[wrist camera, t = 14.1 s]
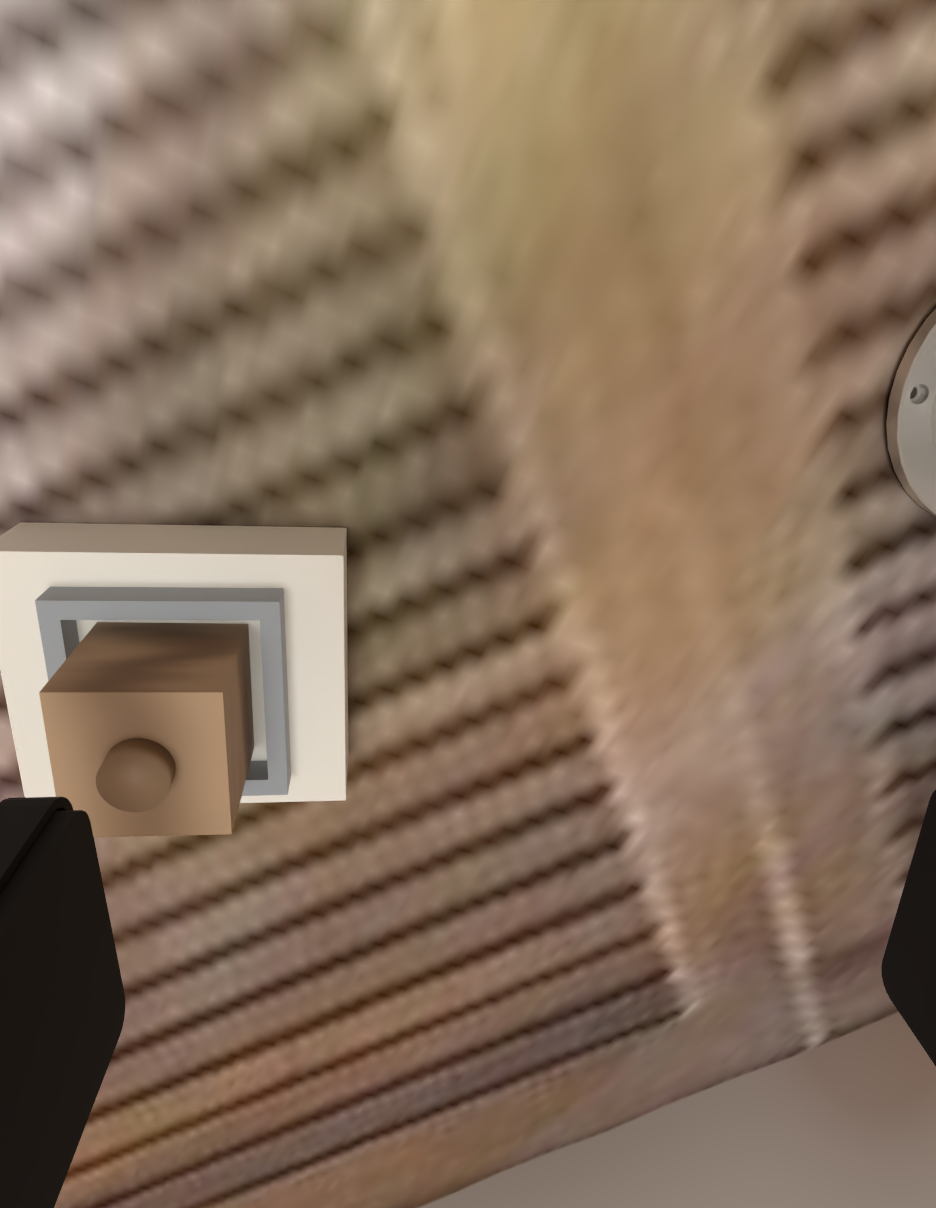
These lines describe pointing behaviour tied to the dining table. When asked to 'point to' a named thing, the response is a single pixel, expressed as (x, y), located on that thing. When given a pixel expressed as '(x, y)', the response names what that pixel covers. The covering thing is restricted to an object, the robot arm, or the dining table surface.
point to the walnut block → (153, 727)
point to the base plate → (190, 595)
